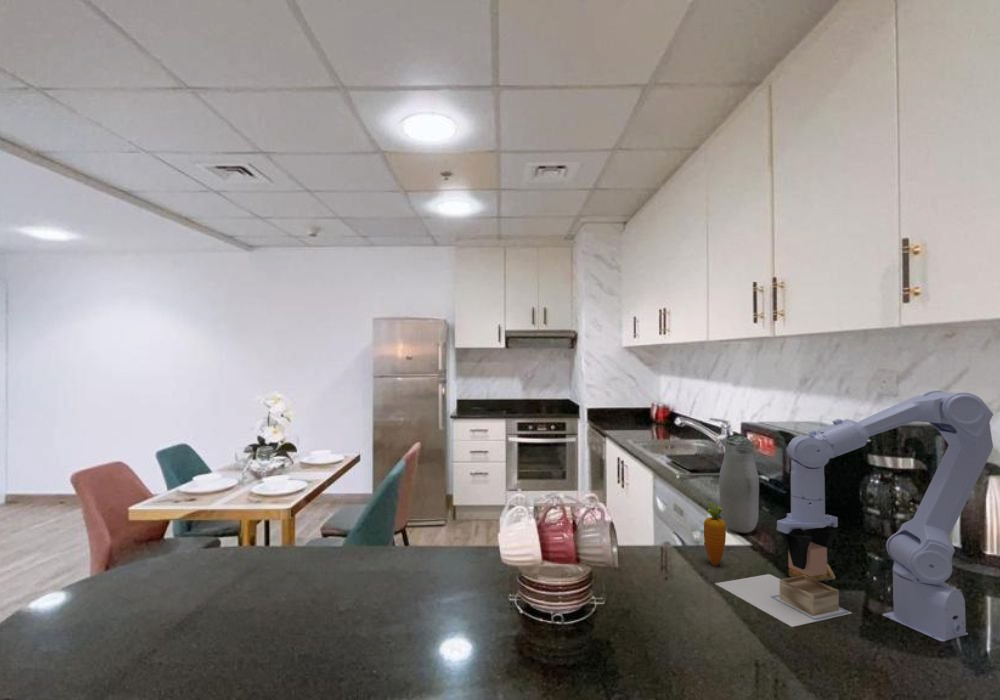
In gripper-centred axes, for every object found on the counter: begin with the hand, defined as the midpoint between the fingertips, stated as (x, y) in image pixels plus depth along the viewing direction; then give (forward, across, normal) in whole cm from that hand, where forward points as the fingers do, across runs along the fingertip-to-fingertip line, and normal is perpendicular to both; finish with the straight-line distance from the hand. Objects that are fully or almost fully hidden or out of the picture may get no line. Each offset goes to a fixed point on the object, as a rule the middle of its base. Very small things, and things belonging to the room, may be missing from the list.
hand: (808, 565), depth 93 cm
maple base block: (+8, 0, 0) cm, 8 cm away
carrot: (+8, +3, -21) cm, 23 cm away
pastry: (+9, -14, -10) cm, 19 cm away
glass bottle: (+8, -24, -39) cm, 47 cm away
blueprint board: (+8, +3, -4) cm, 10 cm away
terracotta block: (+1, 0, 0) cm, 1 cm away
